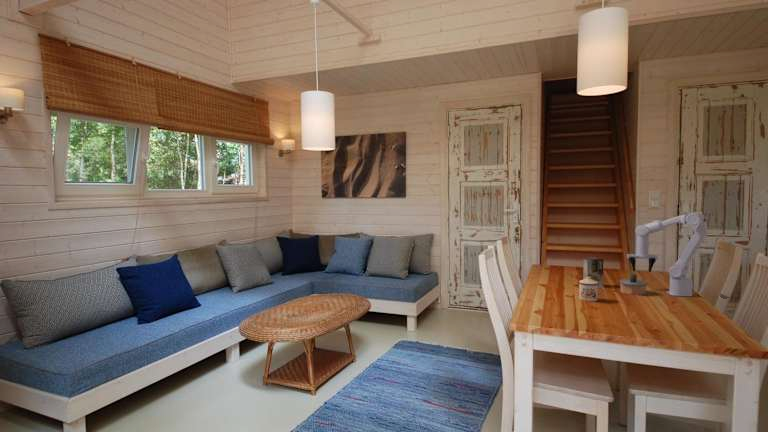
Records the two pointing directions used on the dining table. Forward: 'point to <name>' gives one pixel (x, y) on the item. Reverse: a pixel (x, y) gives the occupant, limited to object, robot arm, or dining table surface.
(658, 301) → the dining table surface
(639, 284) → the lid
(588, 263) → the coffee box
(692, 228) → the robot arm
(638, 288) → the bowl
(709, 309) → the dining table surface
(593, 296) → the teacup with lid
